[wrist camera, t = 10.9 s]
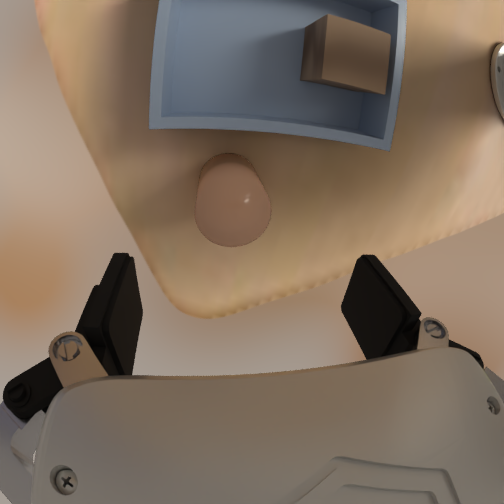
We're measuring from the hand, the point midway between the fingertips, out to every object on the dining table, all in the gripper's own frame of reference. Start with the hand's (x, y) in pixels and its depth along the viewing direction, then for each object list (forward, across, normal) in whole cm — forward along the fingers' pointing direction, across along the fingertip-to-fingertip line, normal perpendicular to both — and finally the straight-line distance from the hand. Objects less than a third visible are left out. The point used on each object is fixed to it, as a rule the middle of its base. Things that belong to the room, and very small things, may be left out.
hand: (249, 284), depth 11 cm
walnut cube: (+14, -8, -12) cm, 20 cm away
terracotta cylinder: (+15, 0, 0) cm, 15 cm away
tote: (+15, -3, -12) cm, 19 cm away
